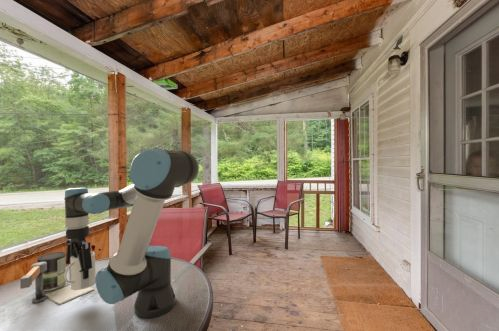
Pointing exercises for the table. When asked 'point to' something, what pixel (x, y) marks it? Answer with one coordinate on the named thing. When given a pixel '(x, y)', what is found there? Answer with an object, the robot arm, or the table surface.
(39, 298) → the post
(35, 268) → the swing arm
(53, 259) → the coffee can
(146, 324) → the table surface
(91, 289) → the coaster
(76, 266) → the mug
